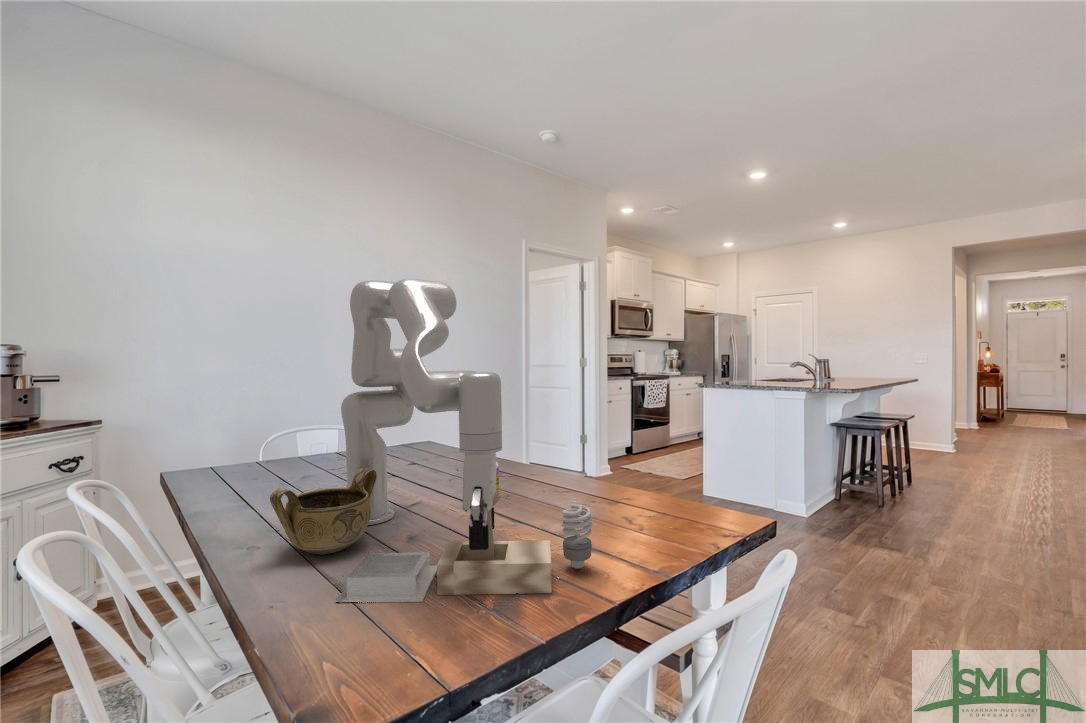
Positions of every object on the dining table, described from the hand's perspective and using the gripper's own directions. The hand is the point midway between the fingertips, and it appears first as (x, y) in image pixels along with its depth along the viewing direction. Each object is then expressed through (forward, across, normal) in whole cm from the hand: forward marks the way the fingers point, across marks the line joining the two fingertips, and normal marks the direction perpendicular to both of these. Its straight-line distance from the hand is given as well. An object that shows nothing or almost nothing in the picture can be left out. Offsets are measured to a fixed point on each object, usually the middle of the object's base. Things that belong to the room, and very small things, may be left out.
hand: (482, 538), depth 88 cm
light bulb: (+8, -4, +17) cm, 19 cm away
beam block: (+7, 0, +3) cm, 8 cm away
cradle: (+7, +1, -16) cm, 18 cm away
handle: (+8, 0, 0) cm, 8 cm away
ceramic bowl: (+8, -16, -34) cm, 38 cm away
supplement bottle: (+8, -52, -5) cm, 53 cm away
